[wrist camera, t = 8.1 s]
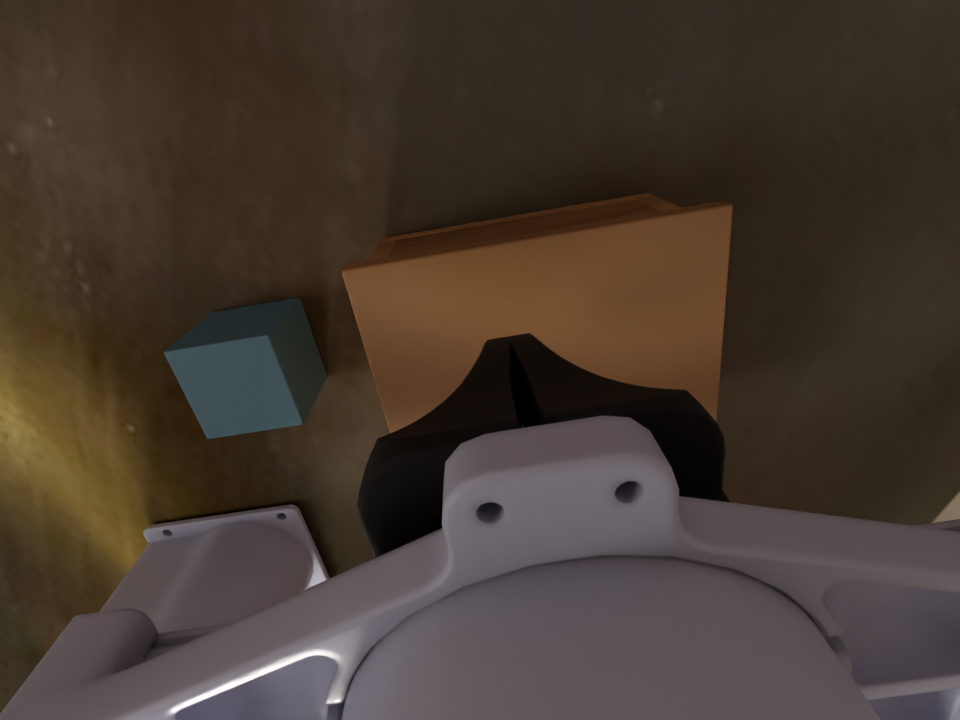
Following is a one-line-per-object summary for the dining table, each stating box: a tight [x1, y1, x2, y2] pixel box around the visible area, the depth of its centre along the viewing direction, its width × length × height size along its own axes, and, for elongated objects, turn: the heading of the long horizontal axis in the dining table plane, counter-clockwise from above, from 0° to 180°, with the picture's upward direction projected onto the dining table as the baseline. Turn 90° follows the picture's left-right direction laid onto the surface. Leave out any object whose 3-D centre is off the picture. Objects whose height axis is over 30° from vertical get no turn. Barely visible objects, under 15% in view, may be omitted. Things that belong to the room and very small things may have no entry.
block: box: [164, 298, 327, 439], centre depth 23 cm, size 4×4×4 cm
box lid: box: [342, 201, 733, 433], centre depth 18 cm, size 11×12×1 cm
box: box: [369, 193, 680, 261], centre depth 22 cm, size 11×12×7 cm
